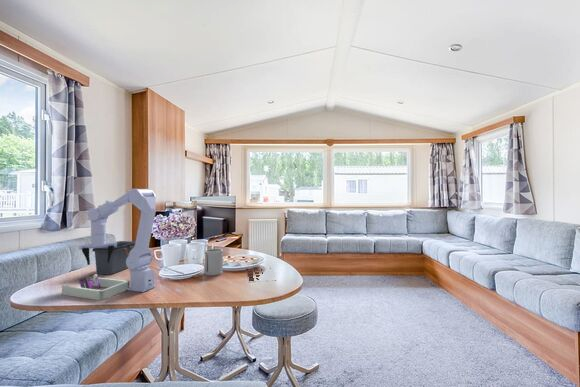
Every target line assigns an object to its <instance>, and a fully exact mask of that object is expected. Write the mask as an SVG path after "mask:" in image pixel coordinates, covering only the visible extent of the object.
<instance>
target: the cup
mask: <svg viewBox="0 0 580 387" xmlns="http://www.w3.org/2000/svg"><path fill="white" fill-rule="evenodd" d="M223 254H224V250H223V249H222V248H207V249H205V250H204V274H205V275H206V276H218V275H219V276H220V275H221V274H223V272H224V271H223V270H224V269H223V268H224V263H223V262H224V259H223V258H224V255H223Z"/></svg>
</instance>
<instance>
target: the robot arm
mask: <svg viewBox="0 0 580 387" xmlns="http://www.w3.org/2000/svg"><path fill="white" fill-rule="evenodd" d="M156 197H157V196H156V194H155V193H154V190H152V189H151V188H132V189H130V190H128V191H127V190H126V192H125V193H124V194H123V195H121V196H120V197H118V198H116V199H114V200H111V199H109V200H106V201H105V203H103V204H99V205H98V206H97V208H95V207H92V208H90V209H88V210H87V218H88V220H90V243H84V244H79V245H78V250H81V252H82V254H83V255H84V257H85V260H86V263H87V266H89V265H91V264H90V263H91V260H90V259H91V258H90V249H93V248H102V247H108V263H109V261H110V257H111V254H112V252H113V249H114V247H117V241H109V242H107V241H106V240H107V239H106V238H107V234H106V232H107V231H106V229H107V228H106V227H107V226H106V225H107V222H108V221H107V220H108V218H109V217H110V216H111V215H113V214H115V213H116V212H118V211H119V208H120V207H122V206H124V205H127V204H128V203H130V204H132V205H134V206H135V207H136V208H137V209H138V210H140V217H139V222H138V226H137V227H138V228H137V233H136V238H135V242H136V243H135V246H134V248H133V249H132V250H131V251H130V253H129V256H128V257H127V259H126V265H127V267H128V268H127V269H128V271H129V273H130V274H129V281H130V288H127V289H126V291H130V292H137V293H139V292H140V293H144V292H147V291H149V290H151V289H153V288H156V287H157V286H156V285H155V271H154V270H153V269H151V268H150V264H151V263H152V262H153V256H152V255H153V254H152V253H153V250H152V249H151V248H150V247H149V246H150V242H151V238H152V231H153V227H154V221H155V217H156V210H157V207H156ZM95 246H99V247H95Z"/></svg>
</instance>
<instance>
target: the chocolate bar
mask: <svg viewBox="0 0 580 387" xmlns="http://www.w3.org/2000/svg"><path fill="white" fill-rule="evenodd" d="M258 267H259V266H258ZM258 267H257V268H254V272H255V271H259V270H258ZM261 271H262V269H261ZM246 272H248V274H247V278H248V277H249V281H254V278H253V271H252V269H249V270H247V269H246ZM255 274H259V272H255ZM262 274H263V272H262ZM259 276H260V275H256V277H259ZM256 279H257V280H259V279H258V278H256Z"/></svg>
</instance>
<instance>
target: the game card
mask: <svg viewBox="0 0 580 387" xmlns="http://www.w3.org/2000/svg"><path fill="white" fill-rule="evenodd" d="M94 277H95V279H96V281H97V284H98V286H96V287H97V288H94V289H95V290H100V289H101V288H102V286H100V283H99V280H98V277H99V276H98V273H94V274H91V275H88V276H85V277H83V278H80V279H78V281H79V285H80V288H88V289H93V287H94V283H95V282H94V281H93V280H91V278H94ZM87 278H88V279H89V280H87Z"/></svg>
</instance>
